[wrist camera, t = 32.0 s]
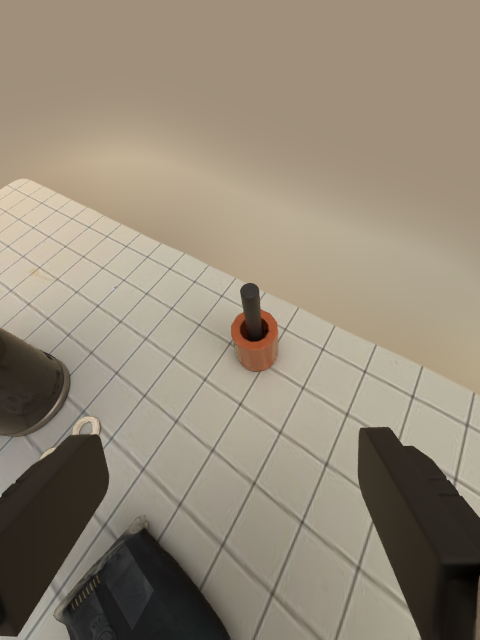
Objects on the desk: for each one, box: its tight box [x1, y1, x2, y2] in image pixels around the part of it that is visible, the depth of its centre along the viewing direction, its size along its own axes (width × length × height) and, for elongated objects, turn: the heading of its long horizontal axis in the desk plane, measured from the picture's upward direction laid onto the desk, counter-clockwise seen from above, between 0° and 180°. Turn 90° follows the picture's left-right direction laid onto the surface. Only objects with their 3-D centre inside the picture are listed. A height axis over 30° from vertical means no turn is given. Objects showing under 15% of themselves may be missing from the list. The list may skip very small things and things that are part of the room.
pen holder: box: [231, 310, 278, 372], centre depth 30 cm, size 5×5×6 cm
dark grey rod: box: [240, 283, 263, 342], centre depth 27 cm, size 2×2×12 cm
